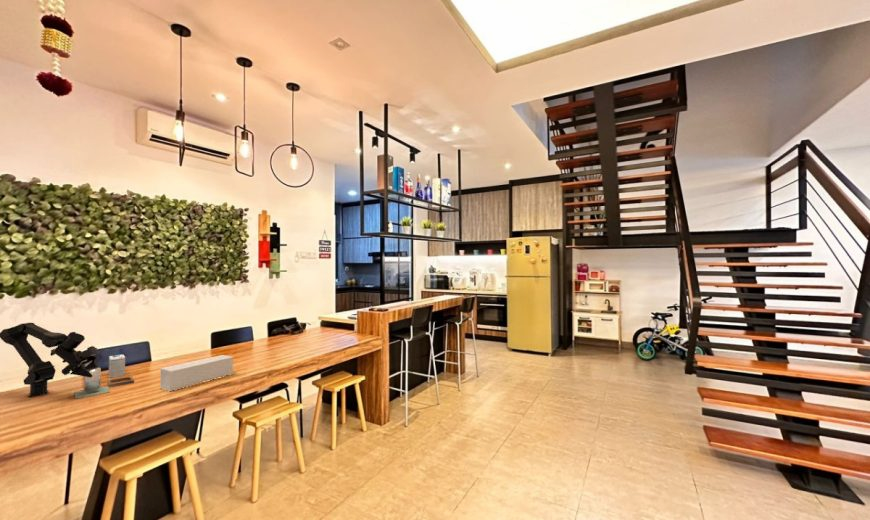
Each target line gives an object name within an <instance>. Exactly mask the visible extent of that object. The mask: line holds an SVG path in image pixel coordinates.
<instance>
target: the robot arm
mask: <svg viewBox="0 0 870 520" xmlns="http://www.w3.org/2000/svg"><path fill="white" fill-rule="evenodd" d="M28 336H32V337H33V338H36V339H38V340H39V341H41V344H42V345H43V346H45V347H46V348H48V349H49V348H52V349H51V350H50V357H52V356H54V355H56V356H57V357H59V358H60V359H62V363H63V364H65V363H67V364H66V366H65V367H64V368H62V369H61V374H62V375H64V376H67V375H75V376H82V377H84V376H85V377H90V378H91V377H92V374H91V373H90V372H89V371H88V370H87V369H90V368H99V366H98V365H97V360H98V359H99V358H100V355H98V354H97V353H98V352H97V350H98V348H97V347H95V346H93V345H91V346H89V347H86V349H85V350H83V351H81V350H76V349H77V348H78V347H79V346H80V345H81V344H82V343H83V342H84V341H85V339H86V338H85V336H84V335H83V334H81V333H78V332H75V331H71V332H69V333H68V335H67V334H65V333H62V332H53V331H50V330H47V329H46V328H43V327H41V326H39V325H36V324H35V323H34V322H24V323H20V324H18V325H15V326H11V327H10V328H4V329H2V330H1V332H0V340H1V341H3V342H4V343H5V344H7V345H10V346H13V348H14V349H15V351H16V352H17V353H18V355H19V356H20V357H21V358H22V360H23V361H24V363H25V364H26V366H28V370H27V376H26V377H25V378H24V379H23V384H24V385H26V386H27V385H29V393H28V398H32V396H33V397H37V396H43V395H49V389H48V381H50V380H54V377H55V374H56V367H55V365H53V363H52V361H50V360H47V361H43V360H42V358H41V357H40V356H39V354H38V353H37V351H36V350H35V349H34V347H33V346H32V345H31V344H30V341H28Z"/></svg>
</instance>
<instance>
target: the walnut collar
mask: <svg viewBox="0 0 870 520" xmlns="http://www.w3.org/2000/svg"><path fill="white" fill-rule="evenodd" d="M134 383H135V379H134V378H133V376H124V377H120V378H114V379H110V380H107V386H108V388H109V387H110V388H114V387H119V386H125V385H131V384H134Z"/></svg>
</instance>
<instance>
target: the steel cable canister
mask: <svg viewBox="0 0 870 520" xmlns="http://www.w3.org/2000/svg"><path fill="white" fill-rule="evenodd" d="M87 370H88V371H89V372H90V373H91V374H92V377H91V378H90V377H85V376H83V391H93V390H97V389H99V388H101V377H102V376H101V375H102V374H101V373H102V371H101V370H102V369H101V367H98V368H90V369H87Z"/></svg>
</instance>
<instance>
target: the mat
mask: <svg viewBox="0 0 870 520" xmlns="http://www.w3.org/2000/svg"><path fill="white" fill-rule="evenodd" d="M108 392H109V393H110V388H109V386H108V385H107V386H102V387H101V386H100V388H99V389H97V390H93V391H84V390H81V391H75V392H74V397H75V400H78V399H77V398H79V399H83V398H82V397H84V398H89V397H93V395H94V396H99V395H103V394H102V393H104V394H108ZM98 394H99V395H98ZM88 396H89V397H88Z"/></svg>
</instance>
